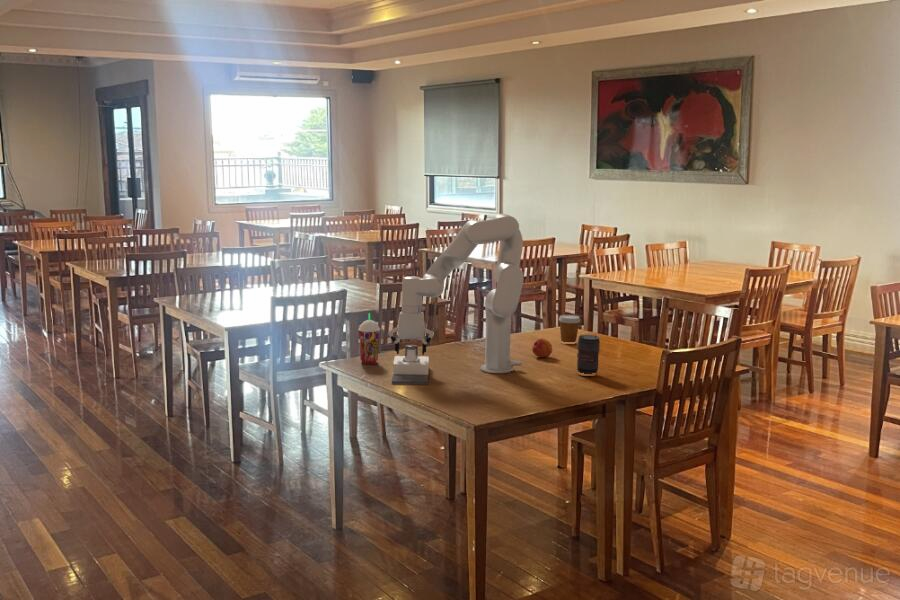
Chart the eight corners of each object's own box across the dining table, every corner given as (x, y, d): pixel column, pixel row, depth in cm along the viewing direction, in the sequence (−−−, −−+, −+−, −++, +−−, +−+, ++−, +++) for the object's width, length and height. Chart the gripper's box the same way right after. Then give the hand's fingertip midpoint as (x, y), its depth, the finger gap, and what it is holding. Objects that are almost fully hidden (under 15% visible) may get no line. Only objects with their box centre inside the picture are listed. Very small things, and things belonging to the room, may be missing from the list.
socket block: (428, 367, 340) (428, 356, 339) (428, 376, 327) (428, 364, 326) (394, 367, 340) (395, 356, 339) (393, 375, 327) (393, 364, 326)
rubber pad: (428, 377, 325) (428, 374, 325) (427, 384, 316) (427, 381, 315) (393, 376, 325) (393, 374, 325) (391, 383, 315) (391, 381, 315)
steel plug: (417, 370, 336) (418, 344, 334) (417, 373, 331) (417, 347, 329) (404, 370, 336) (405, 344, 334) (404, 373, 331) (404, 347, 329)
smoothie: (376, 366, 341) (376, 315, 338) (355, 364, 343) (355, 314, 339) (382, 361, 349) (382, 311, 346) (362, 359, 351) (362, 310, 347)
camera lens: (580, 378, 329) (582, 339, 326) (573, 372, 337) (575, 334, 334) (600, 377, 330) (602, 338, 327) (594, 372, 338) (595, 334, 335)
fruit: (532, 354, 365) (533, 336, 364) (552, 355, 364) (553, 337, 363) (531, 359, 357) (532, 340, 356) (551, 360, 356) (552, 341, 355)
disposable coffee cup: (573, 346, 382) (574, 319, 380) (554, 343, 387) (555, 317, 385) (582, 342, 390) (584, 316, 388) (563, 340, 395) (564, 313, 393)
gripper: (434, 308, 333) (433, 352, 336) (389, 306, 333) (388, 350, 336) (434, 311, 326) (433, 356, 328) (388, 310, 325) (387, 355, 328)
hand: (410, 353), depth 332 cm, fingers open, 9 cm apart
